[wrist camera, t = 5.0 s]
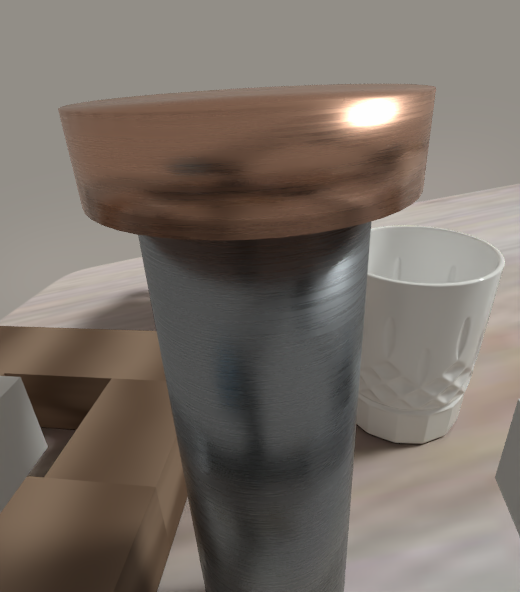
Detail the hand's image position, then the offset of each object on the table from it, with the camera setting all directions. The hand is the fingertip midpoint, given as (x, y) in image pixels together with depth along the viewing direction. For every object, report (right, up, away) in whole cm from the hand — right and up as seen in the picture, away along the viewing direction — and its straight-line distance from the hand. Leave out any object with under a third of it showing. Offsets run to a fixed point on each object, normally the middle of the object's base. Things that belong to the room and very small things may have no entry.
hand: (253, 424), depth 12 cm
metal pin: (+1, -9, +4) cm, 10 cm away
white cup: (+8, -3, +15) cm, 17 cm away
